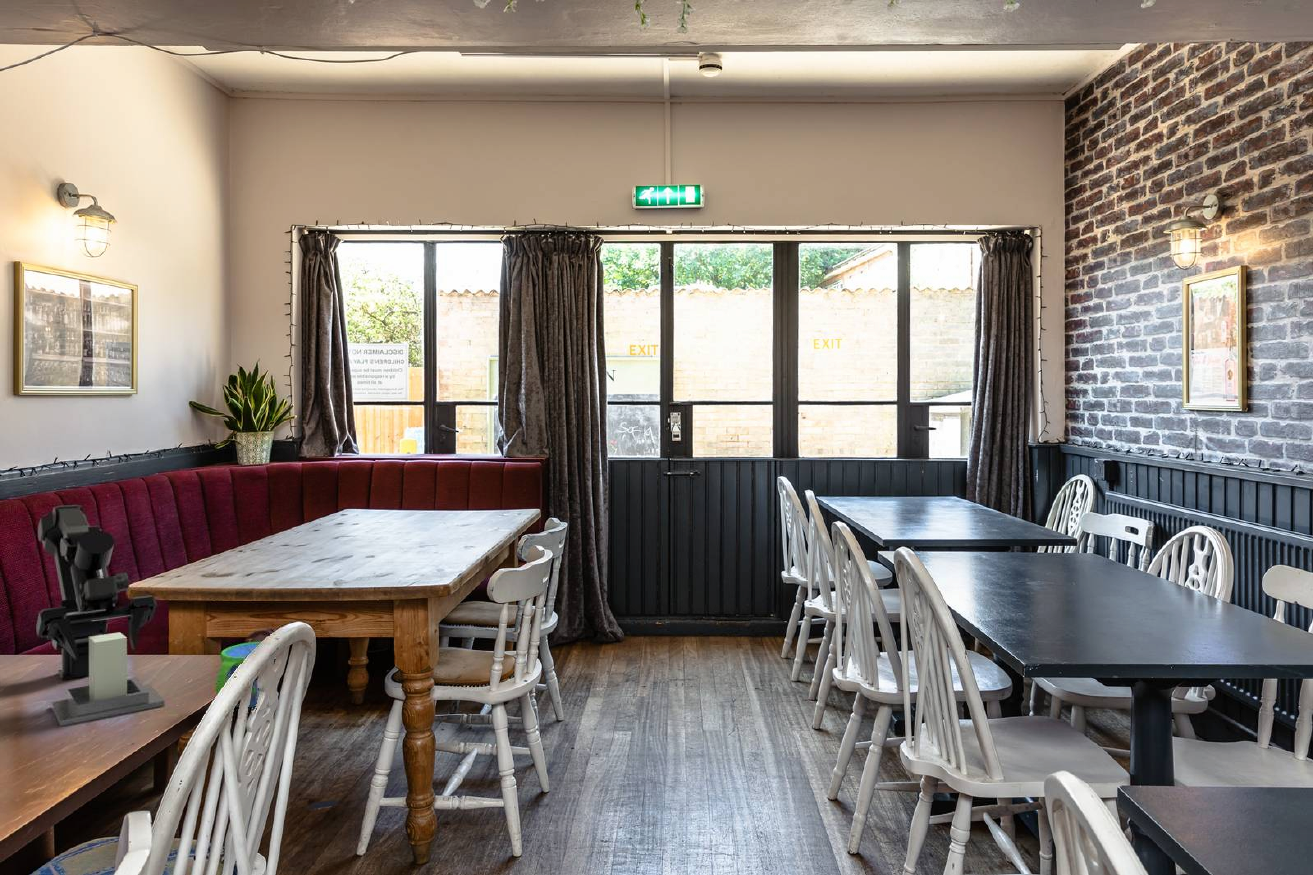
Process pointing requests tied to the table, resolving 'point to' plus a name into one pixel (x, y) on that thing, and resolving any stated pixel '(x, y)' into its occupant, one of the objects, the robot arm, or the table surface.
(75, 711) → the grey rectangular tray
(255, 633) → the icecream
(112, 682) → the sage block
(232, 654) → the snack cup
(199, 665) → the table surface
